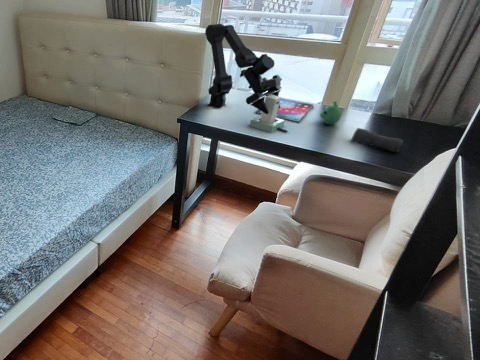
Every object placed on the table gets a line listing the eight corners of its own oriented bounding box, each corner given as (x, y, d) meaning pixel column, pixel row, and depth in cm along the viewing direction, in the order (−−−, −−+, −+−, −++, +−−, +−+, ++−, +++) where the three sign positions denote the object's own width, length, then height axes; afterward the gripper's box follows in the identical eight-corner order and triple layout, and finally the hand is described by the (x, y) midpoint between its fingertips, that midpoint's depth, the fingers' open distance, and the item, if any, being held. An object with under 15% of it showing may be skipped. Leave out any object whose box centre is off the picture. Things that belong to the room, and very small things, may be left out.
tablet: (255, 113, 176) (255, 111, 175) (272, 98, 191) (273, 96, 191) (299, 123, 165) (299, 121, 164) (313, 106, 180) (314, 104, 180)
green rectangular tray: (249, 125, 164) (251, 119, 163) (261, 119, 169) (263, 113, 168) (280, 136, 155) (282, 129, 153) (292, 129, 160) (294, 122, 158)
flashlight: (400, 150, 141) (406, 137, 138) (396, 155, 138) (402, 142, 135) (354, 138, 150) (359, 126, 148) (349, 142, 148) (354, 130, 145)
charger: (259, 123, 163) (265, 96, 157) (264, 121, 166) (271, 94, 159) (269, 127, 160) (276, 99, 154) (274, 124, 162) (281, 97, 156)
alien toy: (317, 119, 167) (324, 98, 162) (337, 122, 164) (344, 100, 159) (317, 125, 162) (324, 103, 157) (337, 128, 159) (345, 106, 154)
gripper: (258, 74, 148) (278, 107, 147) (282, 65, 158) (301, 96, 156) (237, 88, 158) (255, 120, 156) (261, 79, 167) (278, 108, 166)
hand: (273, 110), depth 158 cm, fingers open, 9 cm apart
